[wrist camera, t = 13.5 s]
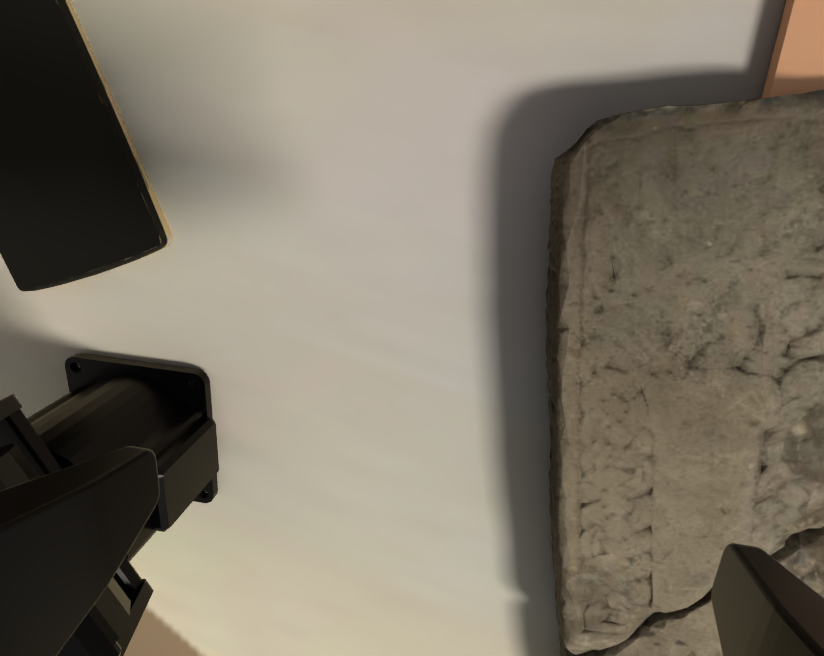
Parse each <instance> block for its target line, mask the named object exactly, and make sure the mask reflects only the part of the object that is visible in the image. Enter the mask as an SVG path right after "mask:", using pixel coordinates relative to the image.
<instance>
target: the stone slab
mask: <svg viewBox="0 0 824 656" xmlns="http://www.w3.org/2000/svg"><path fill="white" fill-rule="evenodd" d="M550 187H551V200H550V203H551V218H550V228H549V244H548V248H549V250H550V252H549V268H548V286H547V291H546V301H547V308H546V325H547V338H546V353H547V364H546V365H547V372H548V391H549V416H550V434H551V450H550V462H551V467H550V471H549V479H550V489H549V490H550V515H551V531H552V550H553V563H554V571H555V584H556V591H555V597H556V603H557V604H556V610H557V620H558V624H559V628H560V630H559V631H560V646H561V650H560V653H561V656H723V654H722V649H721V644H720V639H719V635H718V630H717V625H716V620H715V615H714V611H713V606H712V598H711V595H712V586H713V582H714V579H715V576H716V573H717V570H718V567H719V563H720V560H721V557H722V554H723V551H724V549H725V547H726V546H727V545H728V544H731V543H736V544H742V545H749V546H755V547H758V548H761V549H762V550H764V551H765V552H766V553H768V554H769V555H770V556H771V557H773V558H774V559H775V560H776V561H778V562H779V563H780V564H782V565H783V566H784V567H785V568H787V569H788V570H789V571H790V572H792V573H793V574H794V575H795V576H797V577H798V578H799V579H801V580H802V581H803V582H804V583H806V584H807V585H808V586H809V587H811V588H812V589H813V590H814V591H816V592H817V593H818V594H820V595H821V596H822V597H823V598H824V89H823V90H817V91H812V92H806V93H801V94H789V95H781V96H774V97H767V98H761V99H754V100H747V101H741V102H730V103H719V104H708V105H698V106H664V107H658V108H652V109H646V110H639V111H634V112H629V113H624V114H620V115H616V116H612V117H608V118H605V119H601V120H598V121H597V122H596V123H594V124H593V125H592V126H591V127H589V128H588V129H587V130H586V131H585V133H584V134H583V135H582V136H581V137H580V139H579V140H578V141H577V142H576V143H575V144H574V145H573V146H572V147H571V148H570V149H568V150H567V151H566V152H565V153H563V154H562V155H560V156H559V157H557V158H556V159H555V162H554V166H553V170H552V176H551V185H550Z"/></svg>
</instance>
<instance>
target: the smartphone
mask: <svg viewBox="0 0 824 656" xmlns="http://www.w3.org/2000/svg"><path fill="white" fill-rule="evenodd" d="M172 240H173V237H172V233H171V230H170V228H169V225H168V223H167V221H166V218H165V216H164V214H163V212H162V209H161V207H160V205H159V203H158V200H157V198H156V196H155V193H154V191H153V189H152V187H151V184H150V182H149V180H148V177H147V175H146V173H145V171H144V168H143V166H142V164H141V161H140V159H139V157H138V155H137V152H136V150H135V148H134V146H133V143H132V141H131V139H130V136H129V134H128V132H127V130H126V127H125V125H124V123H123V120H122V118H121V116H120V114H119V111H118V109H117V107H116V105H115V102H114V100H113V98H112V95H111V93H110V91H109V89H108V86H107V84H106V82H105V79H104V77H103V75H102V73H101V70H100V68H99V66H98V64H97V61H96V59H95V57H94V54H93V52H92V50H91V48H90V45H89V43H88V41H87V39H86V36H85V34H84V32H83V29H82V27H81V25H80V23H79V20H78V18H77V16H76V13H75V11H74V9H73V7H72V4H71V2H70V0H0V253H1V255H2V257H3V259H4V261H5V263H6V265H7V267H8V269H9V271H10V273H11V275H12V277H13V279H14V281H15V283H16V285H17V287H18V288H19V289H20V290H21V291H35V290H40V289H45V288H49V287H54V286H58V285H62V284H65V283H69V282H72V281H76V280H79V279H82V278H86V277H89V276H92V275H96V274H99V273H102V272H105V271H107V270H110V269H113V268H116V267H119V266H121V265H124V264H127V263H130V262H132V261H135V260H137V259H140V258H142V257H145V256H147V255H149V254H152V253H154V252H156V251H158V250H160V249H162V248H164V247H166V246H168V245H169V244H171V242H172ZM155 247H156V248H155Z"/></svg>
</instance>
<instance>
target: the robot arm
mask: <svg viewBox="0 0 824 656" xmlns="http://www.w3.org/2000/svg"><path fill="white" fill-rule="evenodd" d="M77 363H78V364H79V365H80V367H81V368H79V367H78V365H77ZM65 368H66V374H67V380H68V385H69V391H70V393H68V394H67V395H65V396H63V397H62V398H60V399H59V400H57V401H55V402H54V403H52V404H50V405H49V406H47V407H45V408H44V409H42V410H40V411H39V412H37V413H35V414H34V415H32V416H31V417H29V418H26V417H25V416H24V414H23V413H22V411H21V410H20V408H22V406H21V404H20V403H19V402H18V400H17V399H16V397H15V396H14V395H13V394H12V395H10V396H8V397H6V398H4V399H2V400H0V656H123V655H124V653H125V651H126V649H127V646H128V644H129V642H130V640H131V638H132V636H133V634H134V632H135V629H136V627H137V625H138V623H139V621H140V619H141V617H142V614H143V612H144V610H145V608H146V606H147V604H148V602H149V599H150V597H151V595H152V593H153V589H152V588H151V586H150V585H149V584H148V582H147V581H146V579H141V577H140V576H139V575H138V573H137V572H136V571H135V569H134V568H133V566H132V565H131V564H130V562H129V561H130V560H131V559H132V558H133V557H134V556H135V555H136V554H137V552H138V551H139V550H140V549H141V548H142V547H143V546H144V544H145V543H146V542H147V541H148V540H149V539H150V538H151V537H152V535H153V534H154V533H155V532H156V531H163V532H164V531H166V530H167V529H168V528H170V527H171V526H172V525H173V524H174V522H175V521H176V520H177V519H178V518H179V517H180V515H181V514H182V513H183V512H184V511H185V510H186V508H187V507H188V506H189V505H190V504H191V503H192V501H196V502H202V503H209V502H211V501H212V500H213V498H214V497H215V496H216V495H217V492H218V486H217V472H218V471H219V464H218V450H217V436H216V424H215V422H214V420H213V418H212V405H211V391H210V381H209V377H208V376H207V374H206V373H204V372H203V371H201V370H198V369H191V368H183V367H176V366H169V365H161V364H154V363H147V362H139V361H132V360H125V359H117V358H110V357H102V356H95V355H88V354H75V355H73V356H72V357H70V358H68V359H67V360H66V362H65ZM193 379H196V380H197V381H198V382H199V385H200V386H199V385H196V384H195V383H194V380H193ZM203 489H204V490H206V491H207V492H208V493H206V492H205V491H204V490H203ZM711 598H712V606H713V611H714V615H715V620H716V625H717V630H718V635H719V639H720V644H721V649H722V654H723V656H824V598H823V597H822V596H821V595H820V594H818V593H817V592H816V591H814V590H813V589H812V588H811V587H809V586H808V585H807V584H806V583H804V582H803V581H802V580H801V579H799V578H798V577H797V576H795V575H794V574H793V573H792V572H790V571H789V570H788V569H787V568H785V567H784V566H783V565H782V564H780V563H779V562H778V561H776V560H775V559H774V558H773V557H771V556H770V555H769V554H768V553H766V552H765V551H764V550H762V549H761V548H758V547H755V546H749V545H742V544H736V543H731V544H728V545H727V546H726V547H725V549H724V551H723V554H722V557H721V560H720V563H719V567H718V570H717V573H716V576H715V579H714V582H713V586H712V595H711Z"/></svg>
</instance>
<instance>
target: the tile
mask: <svg viewBox="0 0 824 656" xmlns="http://www.w3.org/2000/svg"><path fill="white" fill-rule="evenodd" d="M823 89H824V0H786V4H785V8H784V12H783V16H782V20H781V23H780V27H779V31H778V35H777V39H776V43H775V47H774V51H773V55H772V59H771V63H770V67H769V71H768V75H767V78H766V82H765V86H764V90H763V94H762V98H767V97H774V96H781V95H789V94H801V93H806V92H812V91H817V90H823Z"/></svg>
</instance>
